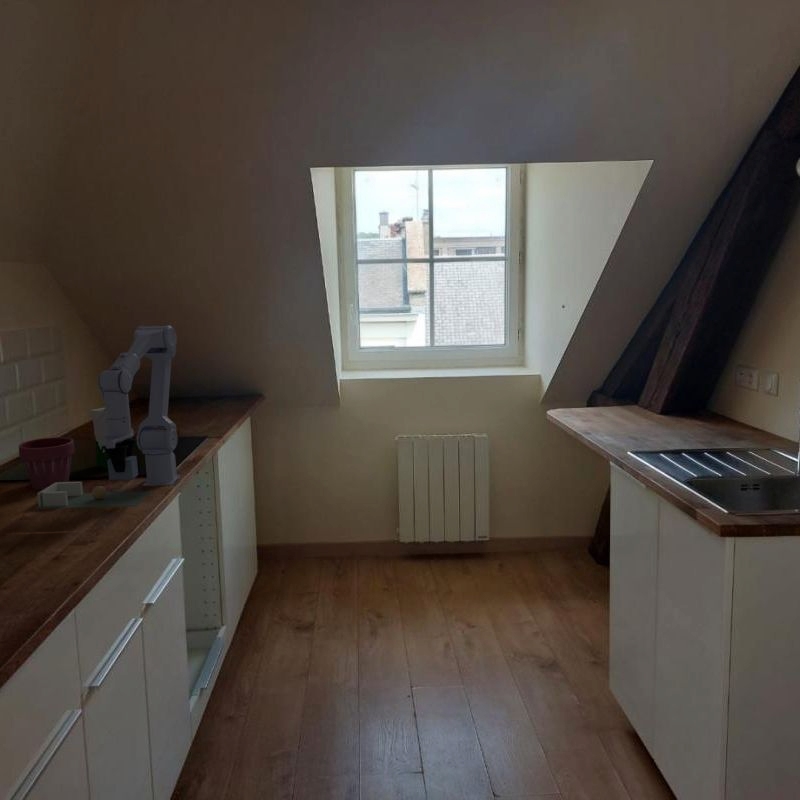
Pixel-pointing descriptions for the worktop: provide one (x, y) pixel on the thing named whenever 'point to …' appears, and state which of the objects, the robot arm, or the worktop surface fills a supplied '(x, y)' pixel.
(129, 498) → the pitch mat
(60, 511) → the worktop surface
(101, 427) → the milk carton
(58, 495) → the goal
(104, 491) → the ball
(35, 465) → the plant pot
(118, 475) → the block
